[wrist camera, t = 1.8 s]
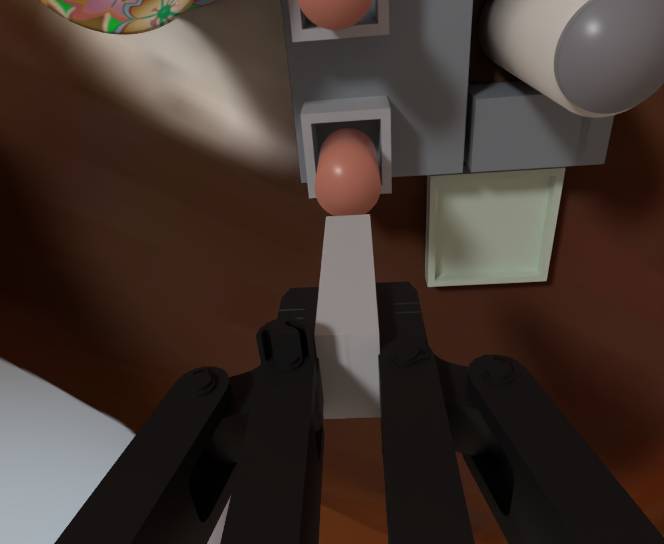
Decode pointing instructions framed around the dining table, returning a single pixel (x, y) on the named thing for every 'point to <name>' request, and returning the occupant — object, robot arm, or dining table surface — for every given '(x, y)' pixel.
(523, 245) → the tray
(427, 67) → the housing
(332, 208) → the plunger
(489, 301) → the dining table surface
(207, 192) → the dining table surface
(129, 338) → the dining table surface
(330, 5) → the plunger
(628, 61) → the cylinder
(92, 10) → the mug
